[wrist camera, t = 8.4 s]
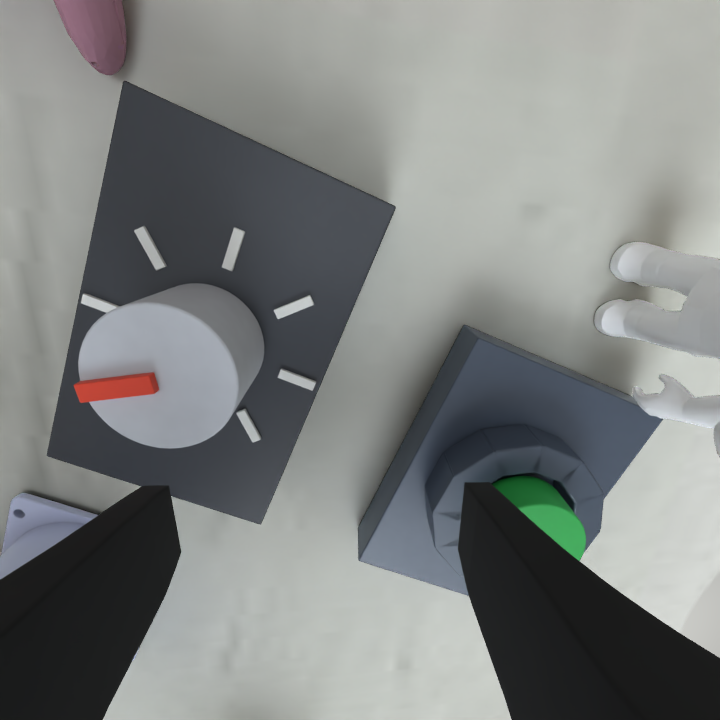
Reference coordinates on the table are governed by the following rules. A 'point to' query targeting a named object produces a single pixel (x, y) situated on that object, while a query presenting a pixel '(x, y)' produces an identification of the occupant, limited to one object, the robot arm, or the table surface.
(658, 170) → the table surface
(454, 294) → the table surface
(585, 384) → the block
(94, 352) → the program dial
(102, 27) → the pink curved piece
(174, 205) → the panel
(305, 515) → the table surface
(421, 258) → the table surface
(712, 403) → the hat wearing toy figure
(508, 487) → the button
